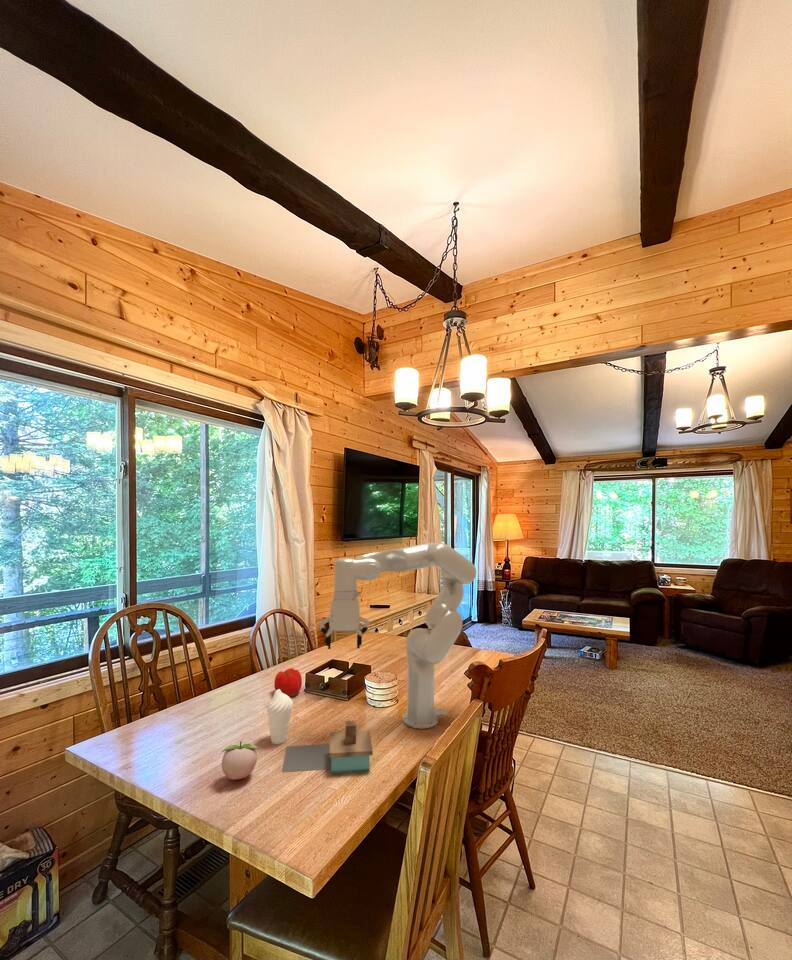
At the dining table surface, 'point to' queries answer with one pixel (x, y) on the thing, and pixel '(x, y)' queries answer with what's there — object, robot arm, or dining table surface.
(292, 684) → the tomato
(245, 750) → the decorative fruit
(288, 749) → the mat
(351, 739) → the lid
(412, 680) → the robot arm
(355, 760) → the open box
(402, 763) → the dining table surface
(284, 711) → the soft serve ice cream cone
